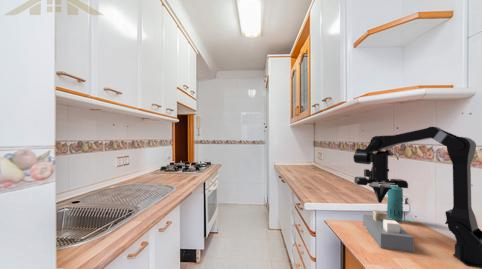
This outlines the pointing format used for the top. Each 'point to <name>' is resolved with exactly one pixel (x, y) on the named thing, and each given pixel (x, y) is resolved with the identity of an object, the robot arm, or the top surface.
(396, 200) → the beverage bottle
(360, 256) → the top surface
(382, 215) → the birch peg
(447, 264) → the top surface
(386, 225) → the white peg
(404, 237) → the collar block
